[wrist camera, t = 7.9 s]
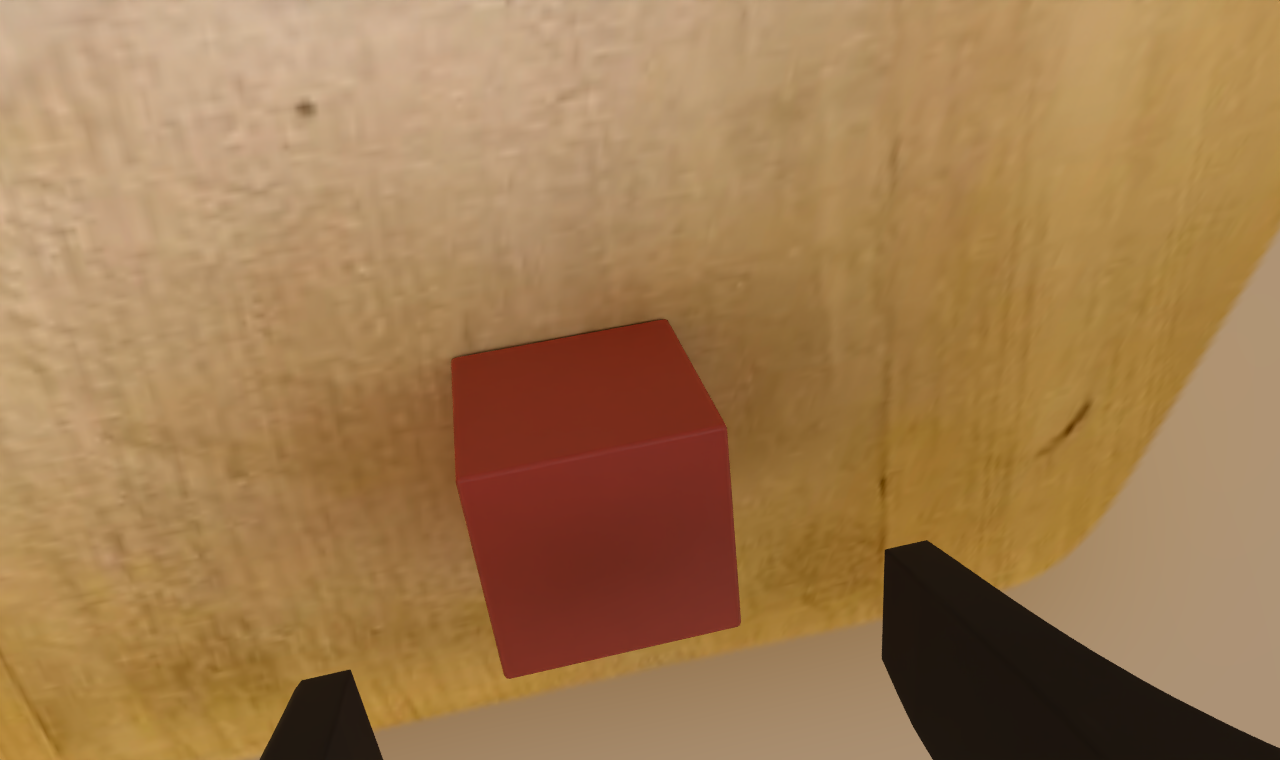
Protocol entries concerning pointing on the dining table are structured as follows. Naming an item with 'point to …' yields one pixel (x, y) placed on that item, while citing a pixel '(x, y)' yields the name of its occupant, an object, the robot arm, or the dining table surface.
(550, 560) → the block
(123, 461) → the dining table surface
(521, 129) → the dining table surface
